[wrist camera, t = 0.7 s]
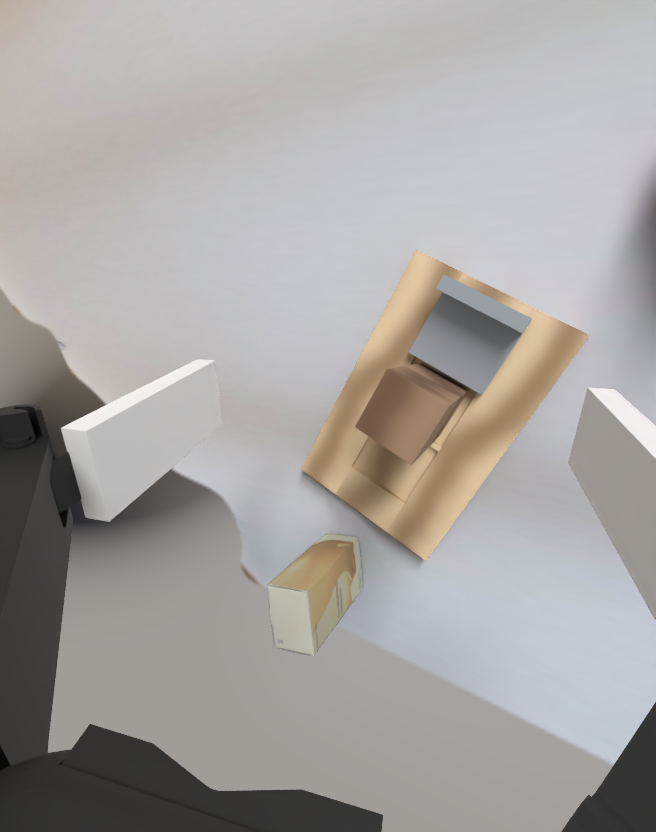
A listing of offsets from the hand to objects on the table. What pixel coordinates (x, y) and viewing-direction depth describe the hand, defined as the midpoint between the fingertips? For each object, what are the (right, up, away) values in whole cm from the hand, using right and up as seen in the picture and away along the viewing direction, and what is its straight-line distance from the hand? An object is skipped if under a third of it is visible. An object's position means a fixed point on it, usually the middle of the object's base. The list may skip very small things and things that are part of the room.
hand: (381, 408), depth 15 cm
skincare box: (0, -16, +33) cm, 37 cm away
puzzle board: (+8, 0, +26) cm, 27 cm away
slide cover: (+10, +7, +21) cm, 25 cm away
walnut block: (+8, +1, +24) cm, 26 cm away
